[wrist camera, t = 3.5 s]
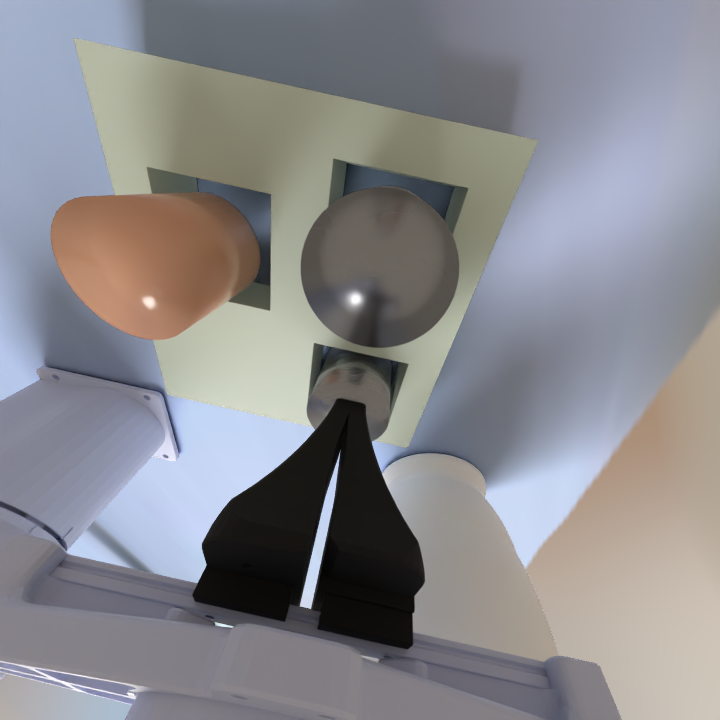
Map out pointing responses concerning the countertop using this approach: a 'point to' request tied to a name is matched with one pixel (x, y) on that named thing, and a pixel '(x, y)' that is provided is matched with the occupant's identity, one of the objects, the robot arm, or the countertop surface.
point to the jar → (466, 560)
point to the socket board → (291, 214)
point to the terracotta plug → (154, 258)
